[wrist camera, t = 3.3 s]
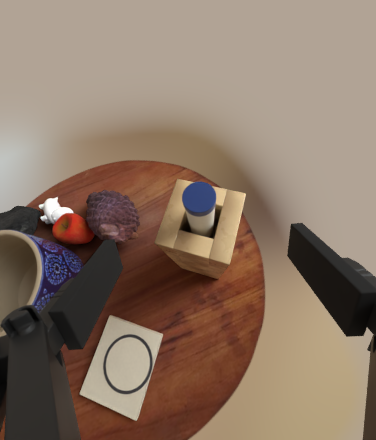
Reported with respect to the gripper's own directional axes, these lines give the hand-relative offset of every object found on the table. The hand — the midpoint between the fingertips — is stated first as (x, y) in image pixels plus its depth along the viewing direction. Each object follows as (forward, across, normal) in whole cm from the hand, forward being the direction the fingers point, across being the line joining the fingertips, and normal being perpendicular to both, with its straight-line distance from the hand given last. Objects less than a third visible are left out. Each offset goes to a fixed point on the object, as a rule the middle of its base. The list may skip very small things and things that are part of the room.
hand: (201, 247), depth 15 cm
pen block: (+22, 0, -16) cm, 28 cm away
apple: (+26, -26, -12) cm, 39 cm away
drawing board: (+9, -16, -29) cm, 35 cm away
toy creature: (+28, -36, -6) cm, 46 cm away
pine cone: (+29, -18, -10) cm, 35 cm away
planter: (+19, -31, -19) cm, 41 cm away
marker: (+12, 0, -6) cm, 14 cm away
